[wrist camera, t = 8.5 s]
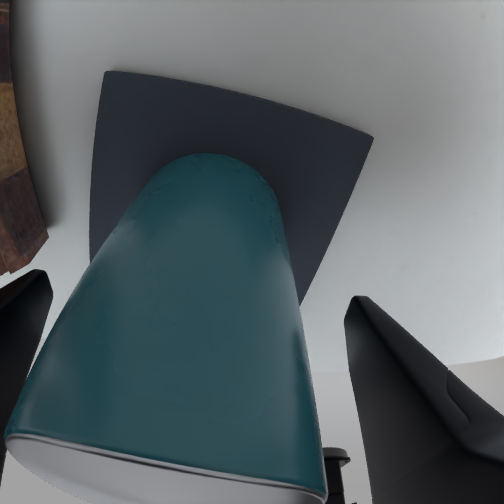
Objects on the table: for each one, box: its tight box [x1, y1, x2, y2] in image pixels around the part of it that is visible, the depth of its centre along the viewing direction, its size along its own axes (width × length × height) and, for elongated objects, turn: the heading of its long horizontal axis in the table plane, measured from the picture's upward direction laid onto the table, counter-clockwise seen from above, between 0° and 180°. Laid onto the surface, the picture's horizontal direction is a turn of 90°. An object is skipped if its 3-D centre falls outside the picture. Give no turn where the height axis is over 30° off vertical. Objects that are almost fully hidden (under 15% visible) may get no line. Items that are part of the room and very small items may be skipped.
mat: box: [89, 71, 374, 307], centre depth 13 cm, size 10×10×1 cm
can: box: [4, 153, 328, 504], centre depth 8 cm, size 6×6×10 cm
